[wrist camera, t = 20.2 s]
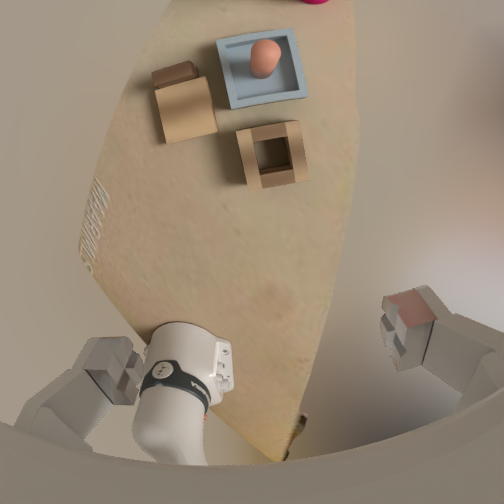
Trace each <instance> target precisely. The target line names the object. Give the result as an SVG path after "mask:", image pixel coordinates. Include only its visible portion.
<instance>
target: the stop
mask: <svg viewBox="0 0 504 504" xmlns="http://www.w3.org/2000/svg"><path fill="white" fill-rule="evenodd" d="M152 78H153V82H154V86H155V87H158V88H165V87H168V86H171V85H175V84H178V83H182V82H185V81H189V80H192V79H196V78H199V74H198V70H197V67H196V66H195V65H194V64H193V63H192V62H191V61H186V62H183V63H179V64H176V65H173V66H170V67H166V68H163V69H160V70H157V71H155V72H152Z"/></svg>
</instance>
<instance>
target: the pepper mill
mask: <svg viewBox="0 0 504 504" xmlns="http://www.w3.org/2000/svg"><path fill="white" fill-rule="evenodd" d="M301 1H303V2H306V3H310V4H322V3H325V2H327V1H328V0H301Z"/></svg>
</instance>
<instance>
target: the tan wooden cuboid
mask: <svg viewBox="0 0 504 504" xmlns="http://www.w3.org/2000/svg"><path fill="white" fill-rule="evenodd" d="M155 94H156V98H157V103H158V108H159V112H160V117H161V121H162V126H163V130H164V134H165V139H166V143H167V144H171V143H175V142H178V141H182V140H186V139H190V138H194V137H198V136H202V135H206V134H211V133H215V132H219V131H218V126H217V122H216V117H215V112H214V108H213V103H212V98H211V93H210V89H209V84H208V79H207V78H206V77H205V76H204V77H200V78H196V79H192V80H189V81H185V82H182V83H178V84H175V85H171V86H168V87H165V88H161V89H158V90H155Z"/></svg>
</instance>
